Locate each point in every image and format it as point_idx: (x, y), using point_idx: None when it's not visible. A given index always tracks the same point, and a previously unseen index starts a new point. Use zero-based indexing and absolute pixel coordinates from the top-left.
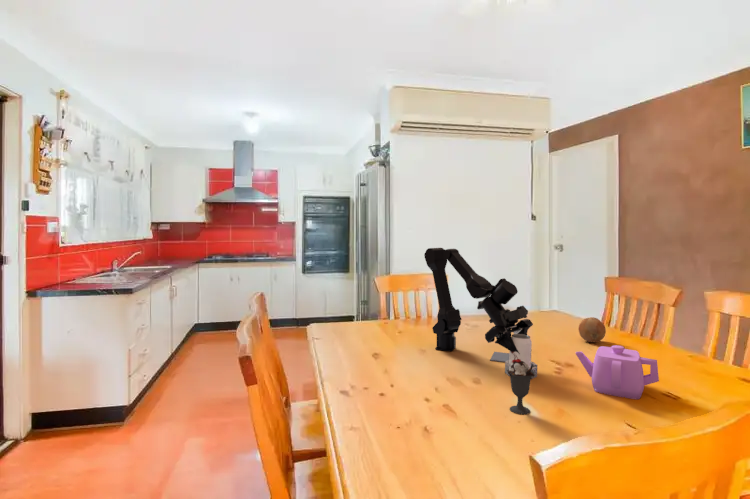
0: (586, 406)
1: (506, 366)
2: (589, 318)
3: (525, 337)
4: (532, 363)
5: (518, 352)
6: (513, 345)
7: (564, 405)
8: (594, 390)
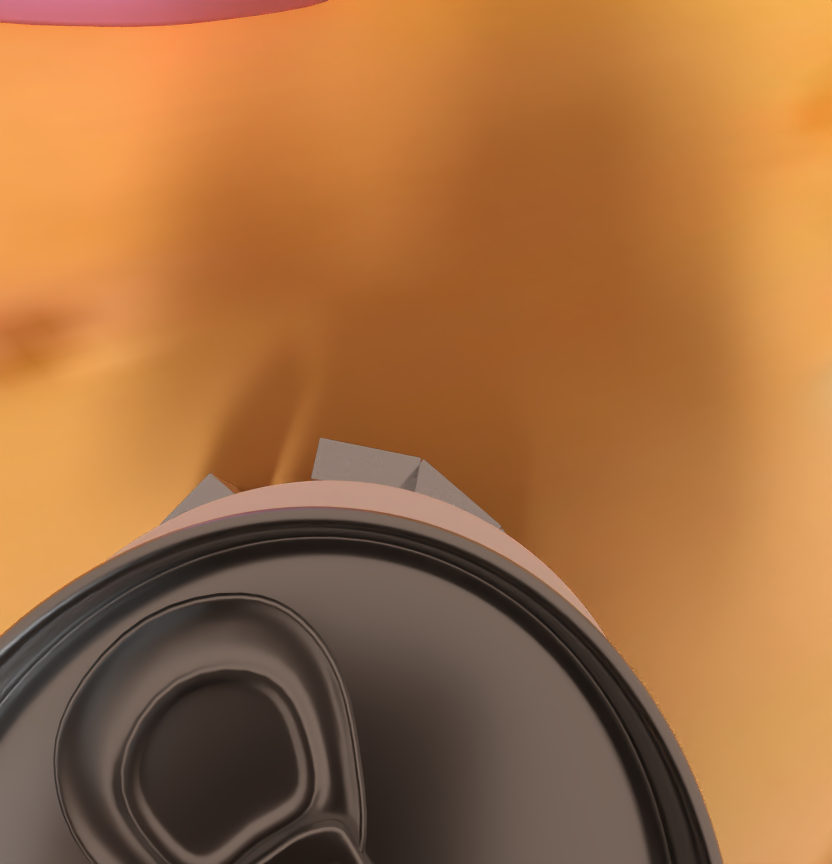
0: (650, 6)
1: None
2: None
3: (243, 730)
4: None
5: None
6: None
7: (741, 111)
8: (320, 2)
